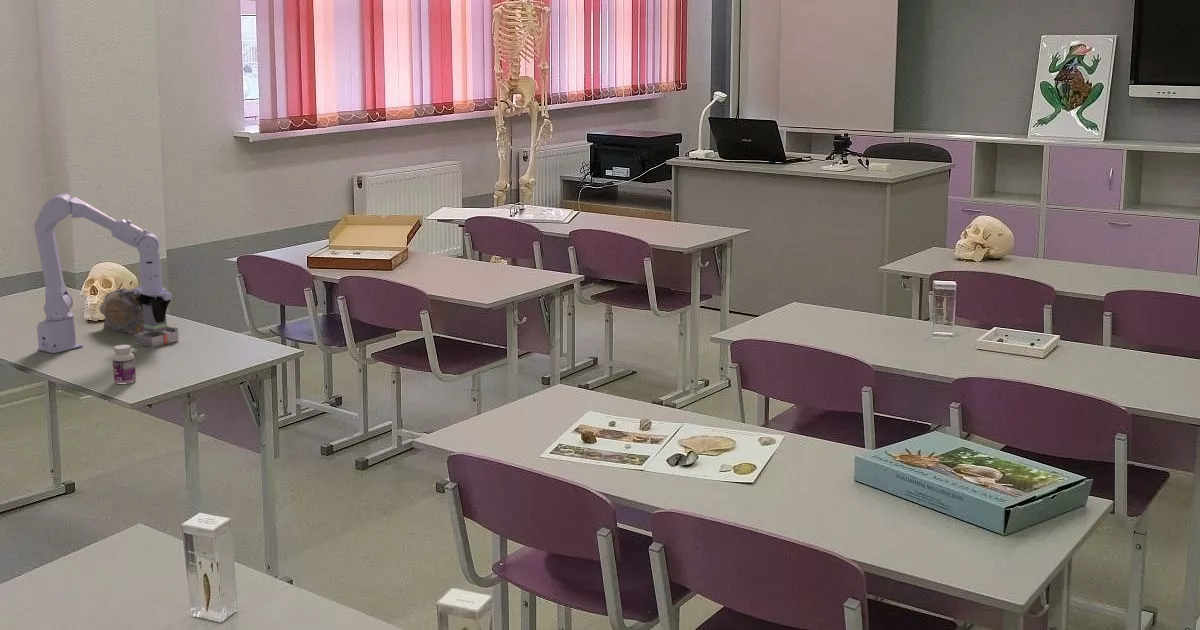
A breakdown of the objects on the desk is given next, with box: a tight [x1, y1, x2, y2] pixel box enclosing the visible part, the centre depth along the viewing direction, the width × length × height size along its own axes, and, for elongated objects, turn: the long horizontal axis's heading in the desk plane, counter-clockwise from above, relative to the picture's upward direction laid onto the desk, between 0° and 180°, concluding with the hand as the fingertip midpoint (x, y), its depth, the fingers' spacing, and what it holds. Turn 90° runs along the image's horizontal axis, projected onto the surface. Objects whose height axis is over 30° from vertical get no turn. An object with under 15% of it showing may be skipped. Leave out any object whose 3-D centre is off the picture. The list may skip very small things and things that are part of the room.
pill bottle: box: [111, 344, 137, 384], centre depth 313 cm, size 5×5×10 cm
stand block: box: [133, 325, 180, 348], centre depth 353 cm, size 9×8×4 cm
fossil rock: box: [99, 288, 156, 337], centre depth 366 cm, size 20×10×15 cm, turn 54°
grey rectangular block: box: [142, 302, 168, 333], centre depth 351 cm, size 5×5×8 cm
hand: (155, 321), depth 352 cm, fingers closed on grey rectangular block, 4 cm apart
